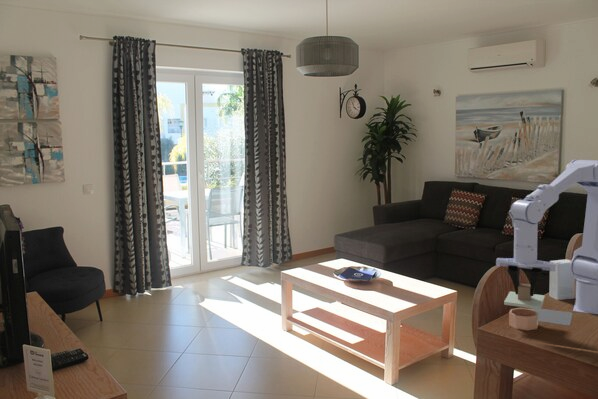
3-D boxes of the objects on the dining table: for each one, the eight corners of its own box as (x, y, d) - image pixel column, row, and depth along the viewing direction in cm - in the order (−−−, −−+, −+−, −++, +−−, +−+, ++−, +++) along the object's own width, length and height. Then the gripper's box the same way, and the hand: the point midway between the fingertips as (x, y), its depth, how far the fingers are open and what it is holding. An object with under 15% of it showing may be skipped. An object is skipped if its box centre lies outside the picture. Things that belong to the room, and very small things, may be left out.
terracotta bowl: (511, 320, 147) (512, 306, 147) (539, 324, 144) (539, 310, 143) (507, 329, 141) (507, 314, 141) (535, 333, 138) (536, 318, 137)
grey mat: (531, 309, 156) (531, 307, 155) (572, 314, 150) (572, 312, 150) (525, 321, 146) (525, 319, 146) (570, 327, 141) (570, 325, 140)
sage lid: (509, 294, 148) (509, 279, 147) (544, 298, 143) (545, 282, 142) (504, 304, 140) (504, 288, 140) (540, 309, 136) (541, 293, 135)
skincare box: (565, 295, 166) (566, 258, 165) (575, 300, 162) (576, 261, 160) (548, 297, 165) (548, 260, 164) (557, 301, 161) (558, 263, 159)
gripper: (494, 245, 140) (493, 295, 142) (554, 250, 132) (552, 302, 134) (499, 240, 146) (498, 287, 148) (556, 244, 138) (555, 294, 140)
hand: (524, 294), depth 141 cm, fingers closed on sage lid, 3 cm apart
